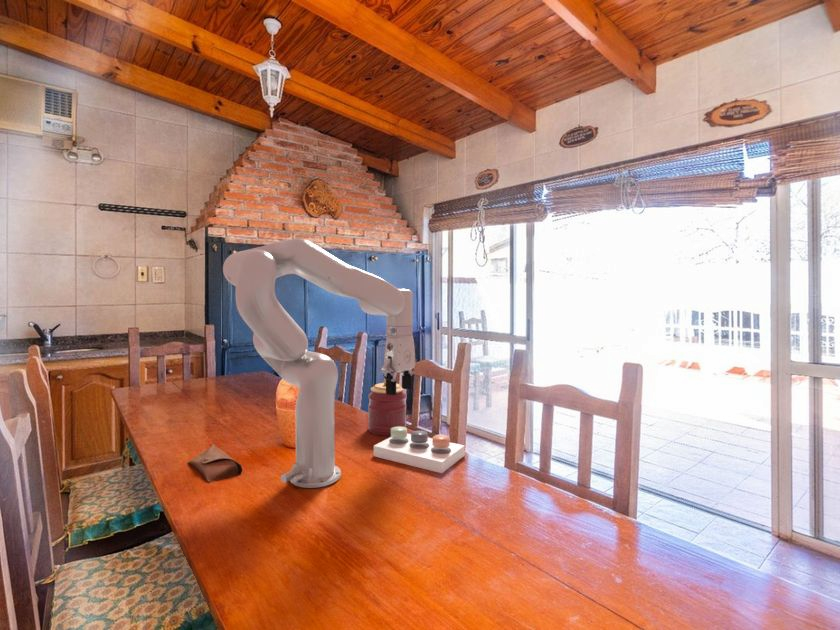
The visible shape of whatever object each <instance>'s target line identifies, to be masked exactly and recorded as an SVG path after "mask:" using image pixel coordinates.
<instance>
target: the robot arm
mask: <svg viewBox="0 0 840 630" xmlns="http://www.w3.org/2000/svg"><path fill="white" fill-rule="evenodd" d="M222 272H223V275H224V278H225V280H226V281H227V282H228V283H229V284H231V285H232V286H234V287H235V292H234V293H235V297H234V298H235V304H236V309H237V312H238V314H239V316H240V317H241V318H242V320H243V322H244V323H245V324H246V325H247V326H248V327H249V328H250V330H251V331H252V333H253V336H252V342H253V347H254V348H255V351H256V352H257V353H258V355H259V356H260V357H261V358H262V359H263V360H264V361H265V362H266V363H267V365H269V366H270V368H272V369H273V370H274V372H276V373H277V375H278V376H279V377H280V378H281V379H283V380H284V381H285V382H286V383H288V384H290V385H293V386H295V387H298V394H297V398H296V402H295V408H294V414H295V415H294V416H295V417H294V419H295V463H292V468H291V469H290V471H288V472H287V471H286V472H285V473H283V474H282V475H280V480H281V482H282V483H283V484H284V483H285V484H286V483H288V482H290V483H291V485H293V486H296V487H298V488H302V489H303V488H304V489H316V488H322V487H326V486H330V485H332V484H334V483H336V482H337V481H338V480H340V478H341V476H342V471H341V468H340V467H339V466H338V465H335V463H336V462H335V461H336V458H335V457H336V455H335V453H336V451H335V450H336V449H335V447H336V446H335V442H336V441H335V439H336V438H335V434H336V433H335V430H336V429H335V426H336V425H335V424H336V423H335V399H336V391H337V390H336V389H337V386H338V385H337V384H338V381H339V380H338V379H339V371H338V366H337V365H336V363H335V361H334V360H333V359H332V358H331V357H330V356H328V355H326V354H324V353H321V352H317V351H311V350H308V348H309V341H308V336H307V335H306V333H305V331H304V330H303V329H302V328H301V327H300V326H299V324H298V323H297V322H296V321H295V320H294V319H293V317H292V316H291V315H290V314H289V313H288V312H287V311H286V309H285V308H284V307H283V305H282V304H281V303H280V302H279V300H278V298H277V296H276V290H275V286H276V285H275V284H276V280H277V278H280V277H282V276H286V275H297V276H298V277H301V278H302V279H303V280H306V281H308V282H309V283H312V284H313V285H315V286H317V287H318V288H321V289H323V290H325V291H326V292H328V293H331V294H334V295H337V296H340V297H343V298H348V299H349V298H350V299H354V300H358V306H359V308H360V309H361V310H362V311H363V312H364V313H365V314H368V315H372V316H386V338H385V346H384V347H385V348H384V359H383V360H384V361H383V362H384V363H383V365H382V366H381V368H380V370H381V372H382V376H383V378H384V380H385V381H386V394H389V395H396V383H397V381H396V378H397V375H398V373H402V375H401V386H402V389H404V390H412V388H413V387H412V385H413V383H412V382H413V377H412V376H413V374H414V369H415V367H416V361H417V360H416V349H415V340H414V335H413V326H414V324H413V322H414V321H413V317H414V316H413V315H414V313H413V310H414V309H413V308H414V305H413V304H414V303H413V302H414V301H413V300H414V298H413V297H414V296H413V295H414V294H413V292H412V290H410V289H406V288H398V287H396V286H394V285H393V284H391V283H390V282H389V281H386V280H385V279H383V278H381V277H379V276H377V275H375V274H373V273H370V272H367V271H365V270H362V269H360V268H358V267H355V266H352V265H350V264H348V263H346V262H344V261H342V260H341V259H339V258H338V257H336V256H334V255H333V254H331V253H330V252H328V251H326V250H325V249H323V248H322V247H320V246H318V245H317V244H314V243H313V242H312V241H309V240H308V239H305V238H301V237H300V238H296V237H295V238H290V239H284V240H280V241H276V242H273V243H270V244H266V245H263V246H258V247H253V248H248V249H245V250H240V251H237V252H233V253H231V254H230V255H229V256H228V257H227V258H226V259H225V260H224V263H223V265H222Z"/></svg>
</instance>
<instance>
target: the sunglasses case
mask: <svg viewBox="0 0 840 630" xmlns="http://www.w3.org/2000/svg"><path fill="white" fill-rule="evenodd" d="M187 464H188V465H190V466H191V467H193V468H194V469H195V470H196V471H198V472H199V473H200V474H201V475H202V476H203V477H204V478H205V480H206V482H207V483H214V482H217V481H220V480H223V479H227V478H232V477H236V476H238V475H241V474H242V472H243V466H242V465H241V464H240V463H239V462H238V461H237V460H235V459H234V458H233V457H232V456H230V455H229V454H227V452H225V451H223V450H222V449H221V448H219V447H217V446H216V445H215V444H212V445H211V446H210V447H209V448H207V449H206V450H205V451H203V452H202V453H200V454H198V455H197V456H195V457H194V458H192V459H191V460H189V461H187Z"/></svg>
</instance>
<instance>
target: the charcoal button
mask: <svg viewBox="0 0 840 630" xmlns="http://www.w3.org/2000/svg"><path fill="white" fill-rule="evenodd" d="M410 434H411V441H412V442H414V443H425V442H427V441H428V438H429V433H428V432H427V431H425V430H414V431H411V433H410Z"/></svg>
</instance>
